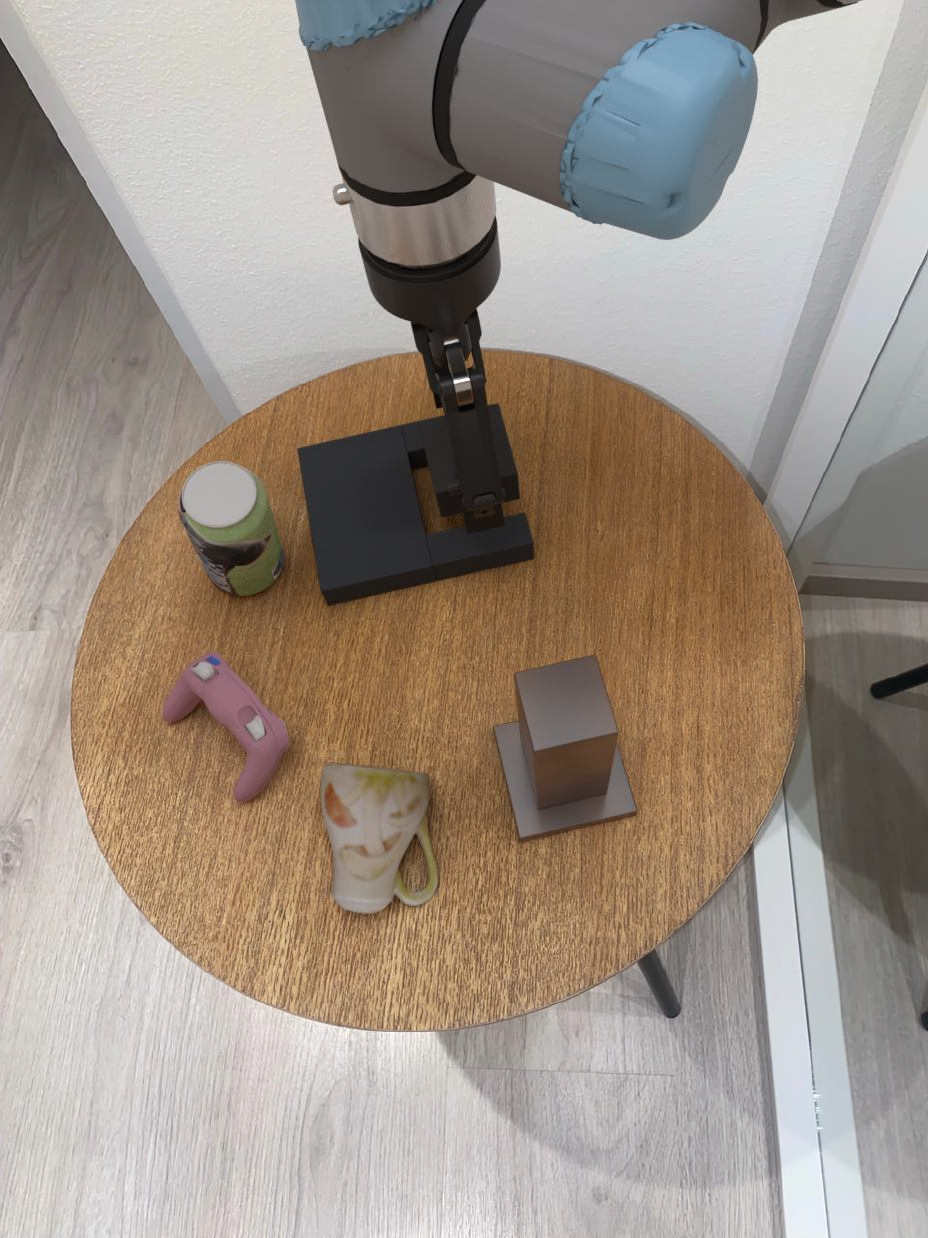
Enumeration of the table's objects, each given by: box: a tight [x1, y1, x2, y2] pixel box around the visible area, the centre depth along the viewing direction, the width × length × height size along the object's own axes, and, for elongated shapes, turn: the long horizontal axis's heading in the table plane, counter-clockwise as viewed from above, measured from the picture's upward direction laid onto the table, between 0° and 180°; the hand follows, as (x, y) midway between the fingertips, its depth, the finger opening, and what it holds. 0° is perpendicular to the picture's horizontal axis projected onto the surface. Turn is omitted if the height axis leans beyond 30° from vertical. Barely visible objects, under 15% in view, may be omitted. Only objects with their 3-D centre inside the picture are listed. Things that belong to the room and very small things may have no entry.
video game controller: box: [161, 650, 291, 803], centre depth 67 cm, size 10×5×7 cm, turn 44°
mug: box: [319, 762, 440, 914], centre depth 63 cm, size 8×10×10 cm
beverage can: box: [177, 460, 285, 596], centre depth 70 cm, size 6×7×12 cm
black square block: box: [419, 402, 521, 519], centre depth 71 cm, size 6×6×4 cm
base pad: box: [296, 403, 535, 606], centre depth 75 cm, size 16×13×2 cm
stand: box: [492, 654, 638, 842], centre depth 60 cm, size 8×8×14 cm
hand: (468, 461), depth 71 cm, fingers open, 11 cm apart
